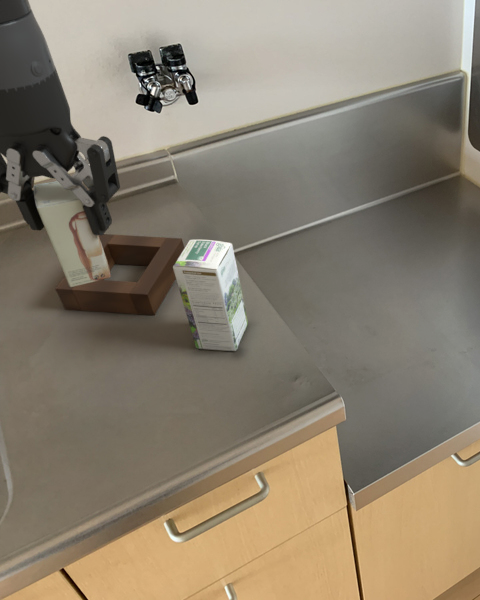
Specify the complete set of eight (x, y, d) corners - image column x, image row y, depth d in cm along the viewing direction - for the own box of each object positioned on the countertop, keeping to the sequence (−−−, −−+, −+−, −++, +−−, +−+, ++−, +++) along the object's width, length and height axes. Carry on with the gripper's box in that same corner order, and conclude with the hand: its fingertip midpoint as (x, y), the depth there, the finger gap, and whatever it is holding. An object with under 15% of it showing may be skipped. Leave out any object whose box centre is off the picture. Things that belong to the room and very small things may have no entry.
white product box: (112, 278, 67) (83, 199, 60) (69, 289, 65) (34, 209, 59) (106, 252, 70) (78, 175, 64) (65, 262, 69) (32, 184, 62)
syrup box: (210, 320, 87) (186, 237, 77) (250, 323, 87) (232, 240, 77) (195, 349, 83) (169, 265, 73) (238, 352, 82) (217, 268, 73)
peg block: (65, 309, 89) (54, 288, 86) (107, 253, 99) (99, 233, 96) (154, 315, 88) (147, 294, 85) (187, 258, 98) (182, 238, 95)
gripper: (106, 59, 56) (152, 214, 67) (-42, 49, 57) (27, 204, 68) (62, 92, 50) (120, 255, 61) (-101, 81, 51) (-15, 243, 62)
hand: (71, 228), depth 64 cm, fingers closed on white product box, 6 cm apart
